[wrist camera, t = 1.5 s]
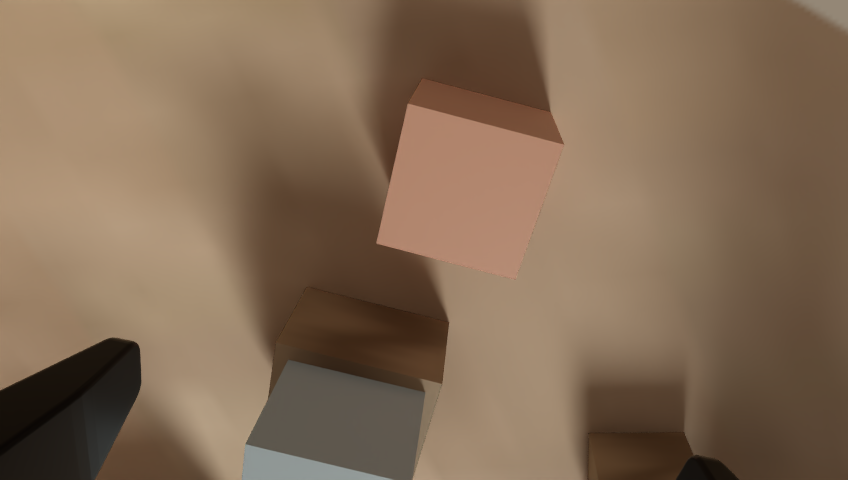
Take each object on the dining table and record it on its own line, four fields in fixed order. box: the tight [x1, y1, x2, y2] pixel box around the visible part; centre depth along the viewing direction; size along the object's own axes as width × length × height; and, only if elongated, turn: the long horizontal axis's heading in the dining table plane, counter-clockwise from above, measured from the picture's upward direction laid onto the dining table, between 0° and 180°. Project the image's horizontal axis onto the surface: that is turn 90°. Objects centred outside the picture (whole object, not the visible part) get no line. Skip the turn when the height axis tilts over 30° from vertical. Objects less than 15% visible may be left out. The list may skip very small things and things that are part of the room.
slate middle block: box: [242, 360, 425, 480], centre depth 20 cm, size 5×5×4 cm
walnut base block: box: [268, 287, 449, 476], centre depth 23 cm, size 6×6×4 cm
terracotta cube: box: [376, 78, 564, 280], centre depth 19 cm, size 4×4×4 cm
